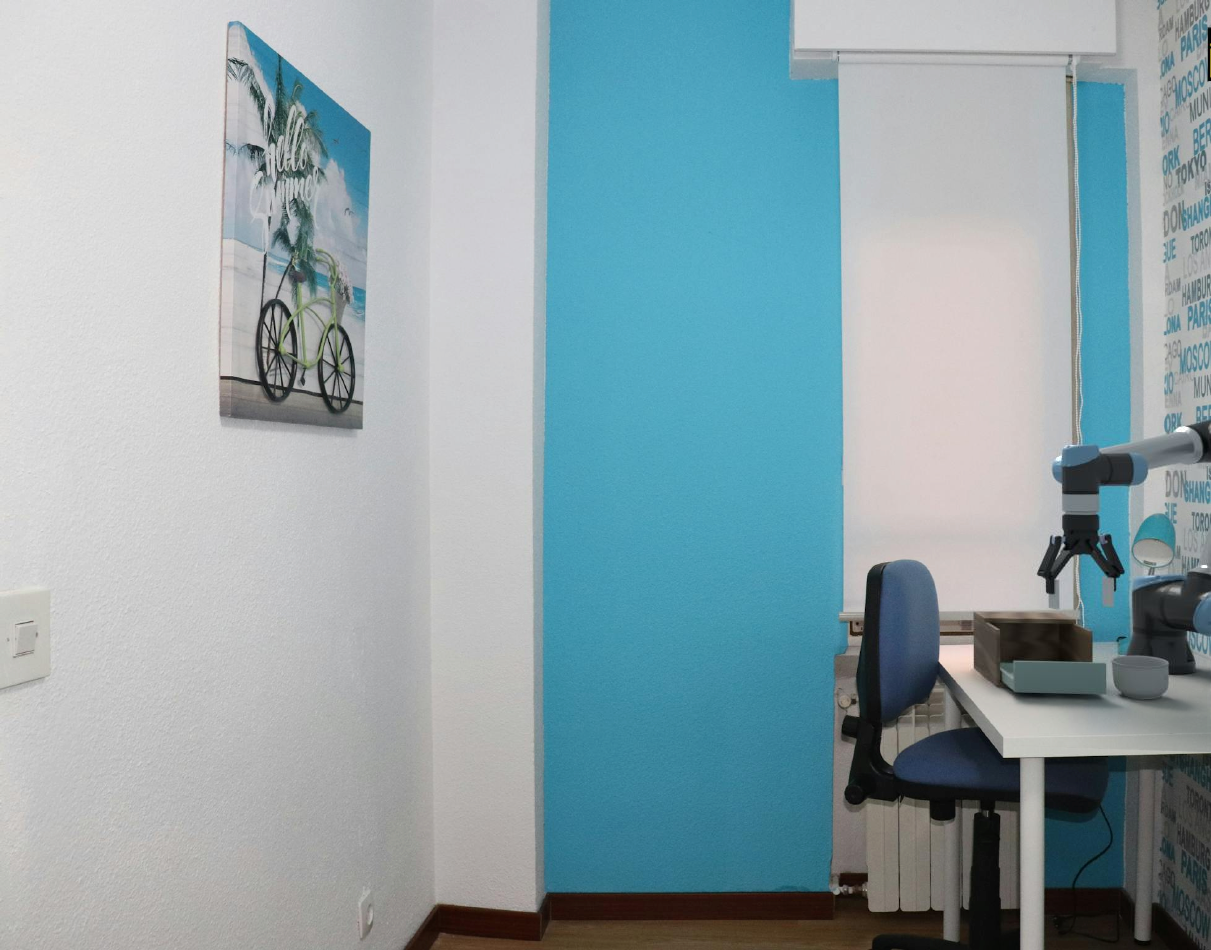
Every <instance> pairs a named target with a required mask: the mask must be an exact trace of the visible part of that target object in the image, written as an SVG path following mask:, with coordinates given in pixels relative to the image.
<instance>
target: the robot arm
mask: <svg viewBox="0 0 1211 950" xmlns="http://www.w3.org/2000/svg"><path fill="white" fill-rule="evenodd" d="M1180 463H1181V464H1183V465H1187V466H1190V465H1191V466H1192V465H1195V464H1202V463H1203V464H1206V463H1207V464H1209V463H1211V418H1210V419H1207V420H1202V421H1199V422H1195V423H1193V424H1192V423H1191V424H1188V425H1185V426H1179V427H1177V428H1175V429H1174V430H1173V432H1172V433H1167V434H1162V435H1158V436H1157V435H1156V436H1153V437H1148V438H1143V439H1139V440H1135V441H1130V442H1129V441H1128V442H1125V443H1121V444H1116V445H1112V446H1107V447H1101V448H1099V446H1098V445H1097V444H1069V445H1068V444H1067V445H1064V447H1062V450H1061V455H1059V456H1057V457H1056V458H1055V460H1054V461H1053V463H1052V467H1051V471H1052V472H1051V473H1052V476H1053V478H1054V479H1055V481H1057V482H1058V483H1059V484H1061V511H1062V512H1064V513H1062V516H1061V529H1062V530H1063V534H1062V536H1061V535H1057V534H1056V535H1055V534H1051V535H1050V537H1049V543H1048V547H1047V549H1046V551H1045V554H1044V556H1043V559H1042V560H1041V562H1040V566H1039V567H1038V570H1037V572H1036V575H1037V577H1041V578H1043V579H1044V580H1045V593H1046V594H1048V608H1049V609H1051V610H1052V609H1053V610H1056V611H1057V610H1060V580H1059V579H1057V578H1058V576H1059V575H1060V574H1061V572H1062V571H1063V570H1064V568H1065V567H1066V566H1067V564H1068V562H1069V561H1070V560H1071V559H1072V558H1074V557H1075V556H1082V555H1086V556H1087V555H1089V556H1090V558H1092V559H1093V561H1094V563H1096V564H1097V566H1098V567H1099V569H1100V570H1101V571H1102V572H1103V573H1104V575H1105V576H1102V579H1101V580H1102V582H1101V583H1102V606H1103V607H1108V608H1114V607H1115V592H1116V591H1117V579H1119V578H1120V577H1121V575H1125V573H1126V571H1125V568H1124V567H1123V565H1122V564H1123V563H1122V562H1121V560H1120V557H1119V555H1118V553H1117V551H1116V549H1115V546H1114V544H1113V537H1112V535H1111V534H1110V533H1100V534H1099V530H1100V528H1101V527H1100V525H1101V523H1100V516H1099V512H1100V511H1101V509H1100V508H1101V507H1100V506H1101V505H1100V487H1131V486H1139V485H1141V484H1143V483H1144V482H1145V481H1146V480H1147V478H1148V475H1149V470H1153V469H1159V468H1164V467H1166V466H1171V465H1176V464H1180ZM1097 513H1098V514H1097ZM1205 537H1206V538H1205V540H1204V545H1203V547H1202V550H1201V553H1200V556H1199V559H1198V563H1197V566H1196V567H1193V568H1191V569H1188V570H1187V574H1181V573H1180V574H1178V573H1177V574H1150V575H1147V574H1146V575H1137V576H1136V577H1134V579H1133V580H1132V590H1131V608H1132V610H1131V611H1132V613H1131V614H1132V615H1131V616H1132V617H1131V618H1132V635H1131V638H1130V641H1129V644H1128V646H1127V648H1126V651H1125V654H1124V655H1126V656H1149V657H1156V658H1160V659H1164V660H1166V661H1168V662H1169V665H1168V672H1169V674H1177V675H1179V674H1191V673H1195V672H1196V670H1197V668H1196V666H1197V665H1196V663H1197V662H1196V660H1195V656H1194V654H1193V651H1192V647H1191V645H1190V643H1189V639H1188V632H1189V633H1190V632H1191V633H1193V634H1200V635H1203V636H1205V637H1211V523H1210V524H1209V527H1208V531H1207V533H1206V536H1205ZM1063 544H1064V545H1063ZM1062 545H1063V547H1062ZM1099 545H1100V548H1101V549H1102V550H1101V549H1100V548H1099ZM1061 547H1062V548H1061ZM1103 553H1104V555H1103Z"/></svg>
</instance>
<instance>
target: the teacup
mask: <svg viewBox="0 0 1211 950" xmlns="http://www.w3.org/2000/svg"><path fill="white" fill-rule="evenodd" d="M1168 665H1169V662H1168V661H1166V660H1164V659H1160V658H1156V657H1149V656H1126V655H1125V654H1119V655H1117V656H1116V657H1113V658H1112V659H1111V668H1112V679H1113V684H1114V687H1115V688H1116V690H1117V691H1119V693H1121V694H1122V695H1123V696H1125V697H1126V698H1129V699H1130V698H1131V699H1137V700H1157V699H1158V698H1160V697H1161V696H1162V695H1164V694H1165V693H1166V692H1167V691H1168V688H1169V683H1170V682H1169V676H1170V673H1169V672H1168Z"/></svg>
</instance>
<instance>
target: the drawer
mask: <svg viewBox="0 0 1211 950" xmlns="http://www.w3.org/2000/svg"><path fill="white" fill-rule="evenodd" d="M1000 680H1001V681H1002V682H1004V683H1005V684H1006V685H1007V686H1009V687H1008V688H1009V689H1011V690H1013V692H1014V693H1029V694H1030V693H1031V694H1032V693H1035V694H1037V693H1039V694H1069V695H1070V694H1074V695H1075V694H1077V695H1078V694H1079V695H1081V694H1082V695H1107V662H1099V661H1098V662H1097V661H1094V662H1053V661H1013V663H1000Z"/></svg>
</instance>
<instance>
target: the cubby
mask: <svg viewBox="0 0 1211 950" xmlns="http://www.w3.org/2000/svg"><path fill="white" fill-rule="evenodd" d="M1093 631H1094V630H1091V629H1089V628H1086V627H1084V626H1082V625H1080V624H1078V623H1077V619H1076V618H1074V617H1072V616H1069V615H1066V614H1065V613H1062V612H1037V611H1036V612H1031V611H1030V612H1029V611H1026V612H1025V611H1024V612H1023V611H1020V612H1019V611H973V669H974V670H975V671H976V672H978V673H979V674H980V675H982V676H983V677H984V678H985V679H986V680H988V681H989V682H990V683H992V685H994V686H995V687H997V688H1010V687H1009V686H1007V685H1006V684H1005V683H1004V682H1002V681H1001V680H1000V663H1013V661H1053V662H1093V659H1094V657H1093V656H1094V655H1093V649H1094V648H1093V647H1094V646H1093V645H1094V644H1093V643H1094V642H1093V636H1094V635H1093V634H1094V633H1093Z"/></svg>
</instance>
